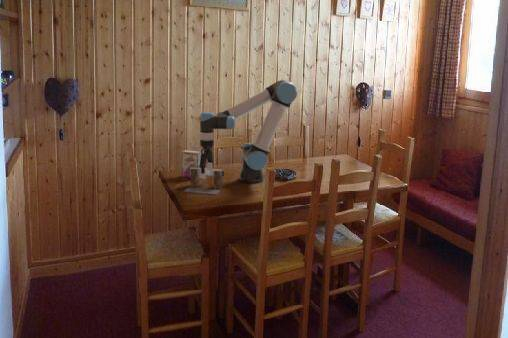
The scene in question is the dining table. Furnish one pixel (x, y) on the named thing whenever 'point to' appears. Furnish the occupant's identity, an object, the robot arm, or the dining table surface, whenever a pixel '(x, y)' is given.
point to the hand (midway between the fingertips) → (206, 175)
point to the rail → (207, 171)
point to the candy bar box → (190, 161)
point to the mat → (202, 191)
